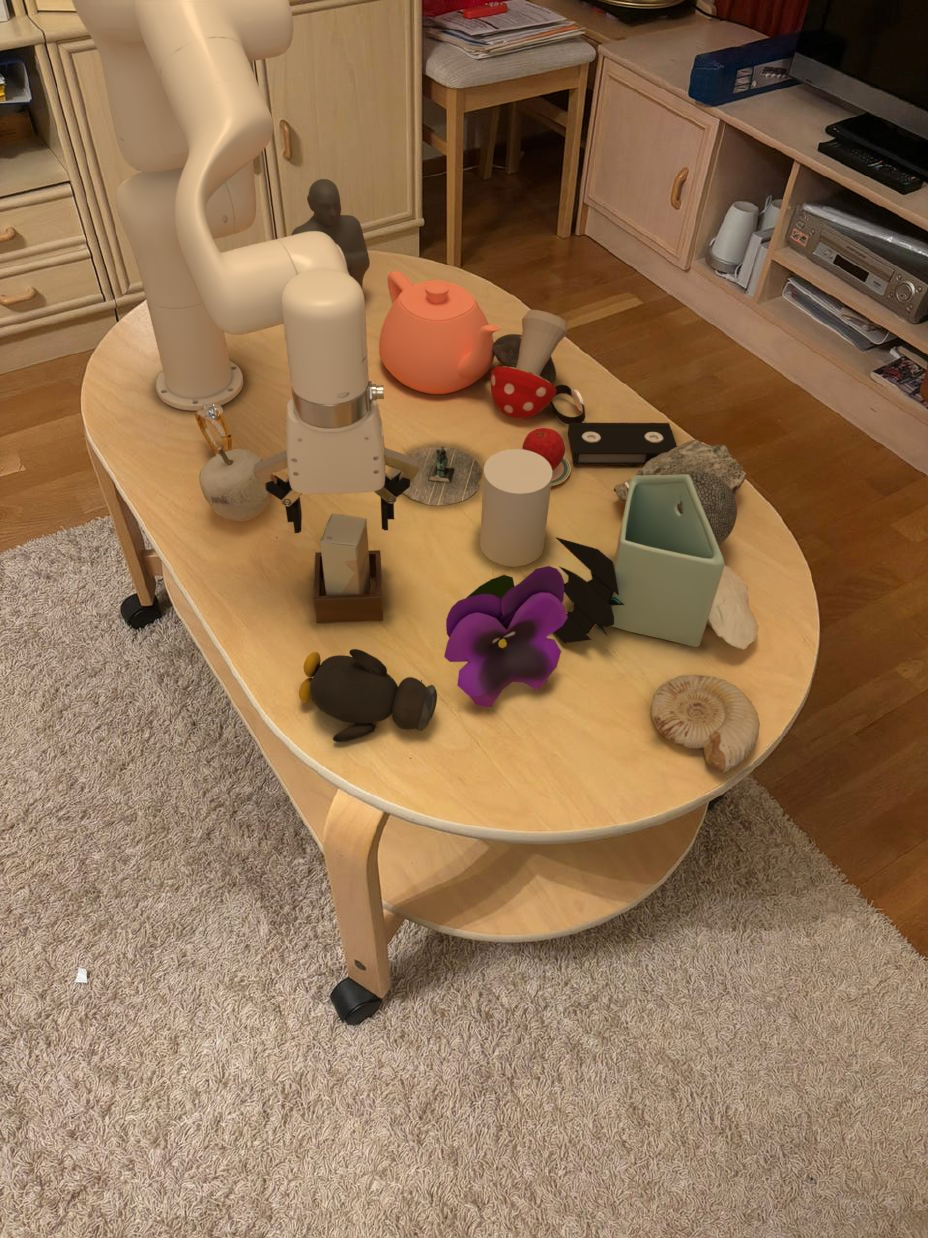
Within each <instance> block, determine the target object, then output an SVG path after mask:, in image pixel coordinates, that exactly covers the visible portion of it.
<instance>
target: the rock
mask: <svg viewBox="0 0 928 1238" xmlns="http://www.w3.org/2000/svg"><path fill="white" fill-rule="evenodd" d="M690 471H703V472H708V473H711V474H713V475H715V476H717V477H719V478H720V479H722V480H723V481H724V482H725V483H726V484H727V485H728V486H729V488H730V489H731V491H732V492H733V494H734V495H736V493H737V492H738V490H739V489H740V488H741V486H742V485H743V484H744V482H745V480H746V477H747V473H746V471H745V470H744V467H743V466H742V465H741V464H740V462H739V460H737V459H736V458H733V456H732V454H730V452H729V448H728V447H727V445H725V444H715V445H711V444H707V443H705V442H703V441H700V440H699V439H692V440H690V441H686V442H684V443H682V444H681V445H677V447H675V448H674V449H672V450H670V451H669V452H667V453H662V454H659V455H658V456H657V457H654V458H652V459H651V460H649V461H648V462H647V463H646V464H645V465H642V467H641V468H640V469H639V470H637V472H636V474H634V476H636V475H679V474H682V473H685V472H690ZM631 478H632V477H631ZM631 478H629V479H628V480H626V481H624V482H622V483H620V484H617V485H614V487H613V492H615V494H616V496H617V497H618V498H619V499H620V500H621V501H623V502H625V503H626V493H625V482H627V483H628V484H630V480H631Z"/></svg>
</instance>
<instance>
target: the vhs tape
mask: <svg viewBox="0 0 928 1238" xmlns="http://www.w3.org/2000/svg"><path fill="white" fill-rule="evenodd" d="M567 437H568V442H569V447H570V451H571V452H570V453H571V458H572V463H573V465H587V466H588V465H590V466H591V465H593V466H594V465H598V466H599V465H602V466H603V465H613V466H614V465H615V466H616V465H619V466H620V465H621V466H622V465H624V466H625V465H629V466H630V465H631V466H632V465H635V466H636V465H638V466H639V465H640V466H641V465H642V466H645V464H646V463H647V462H648V461H649V460H651V459H652V458H654V457H657V456H658V455H659V454H662V453H667V452H669V451H670V450H672V449H674V448H675V447H677V446H678V445H677V442H676V439H675V436H674V433H673V430H672V427H671V425H670V423H669V422H582V423H569V425H568V428H567Z"/></svg>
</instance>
